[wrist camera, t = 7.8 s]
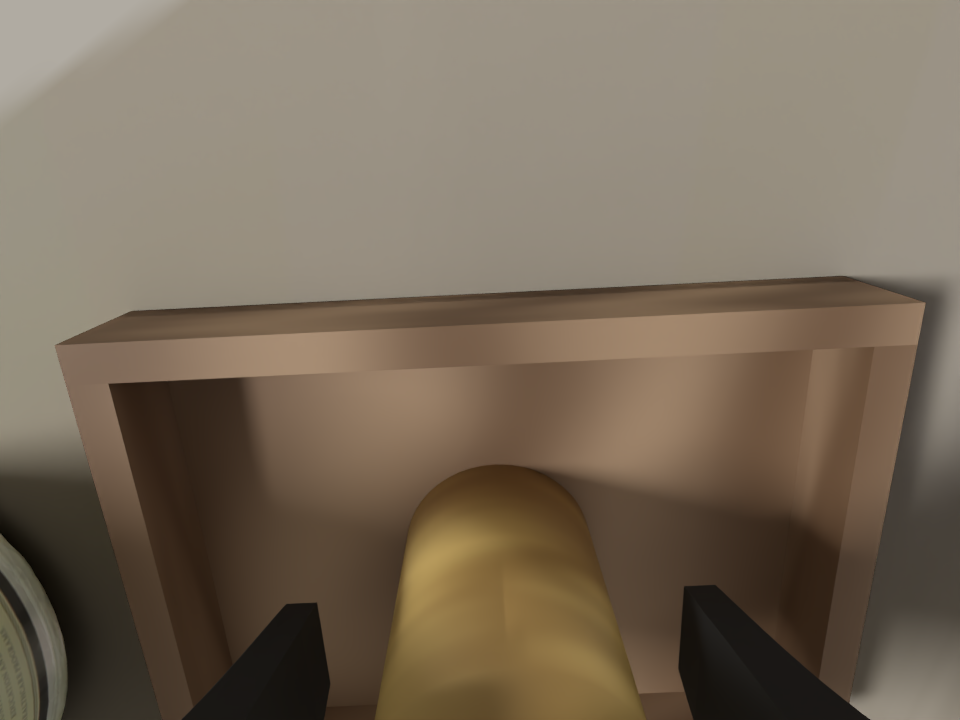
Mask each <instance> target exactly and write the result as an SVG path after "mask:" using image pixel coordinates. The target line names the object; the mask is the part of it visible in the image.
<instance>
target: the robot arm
mask: <svg viewBox="0 0 960 720" xmlns="http://www.w3.org/2000/svg"><path fill="white" fill-rule="evenodd" d="M678 670H679V673H680V677H681V680H682V684H683V687H684V691H685V694H686V698H687V701H688V704H689V707H690V711H691V714H692V717H693V720H870V719H868V718H867V717H866V716H864V715H863V714H862V713H861V712H859V711H858V710H857V709H855V708H854V707H853V706H852V705H850V704H849V703H848V702H847V701H845V700H844V699H843V698H842V697H840V696H839V695H838V694H837V693H835V692H834V691H833V690H832V689H831V688H829V687H828V686H827V685H826V684H824V683H823V682H822V681H821V680H820V679H818V678H817V677H816V676H815V675H814V674H812V673H811V672H810V671H809V670H808V669H807V668H805V667H804V666H803V665H802V664H801V663H800V662H799V661H797V660H796V659H795V658H794V657H793V656H792V655H791V654H790V653H788V652H787V651H786V650H785V649H784V648H783V647H782V646H781V645H779V644H778V643H777V642H776V641H775V640H774V639H773V638H772V637H771V636H770V635H769V634H767V633H766V632H765V631H764V630H763V629H762V628H761V627H760V626H759V625H758V624H757V623H756V622H755V621H753V620H752V619H751V618H750V617H749V616H748V615H747V614H746V613H745V612H744V611H743V610H742V609H741V608H740V607H739V606H738V605H736V604H735V603H734V602H733V601H732V600H731V599H730V598H729V597H728V596H727V595H726V594H725V593H724V592H723V591H722V590H720V589H719V588H718V587H717V586H716V585H698V586H684V593H683V607H682V621H681V635H680V649H679V663H678ZM330 684H331V683H330V677H329V671H328V665H327V659H326V653H325V647H324V641H323V635H322V629H321V623H320V617H319V611H318V605H317V602H316V603H293V604H286V605H285V606H284V607H283V608H282V609H281V610H280V611H279V612H278V613H277V615H276V616H275V617H274V618H273V619H272V620H271V621H270V623H269V624H268V625H267V626H266V627H265V628H264V630H263V631H262V632H261V633H260V634H259V635H258V637H257V638H256V639H255V640H254V641H253V642H252V644H251V645H250V646H249V647H248V648H247V649H246V650H245V652H244V653H243V654H242V655H241V656H240V657H239V658H238V660H237V661H236V662H235V663H234V664H233V665H232V666H231V667H230V668H229V670H228V671H227V672H226V673H225V674H224V675H223V676H222V677H221V678H220V679H219V681H218V682H217V683H216V684H215V685H214V686H213V687H212V688H211V689H210V691H209V692H208V693H207V694H206V695H205V696H204V697H203V698H202V699H201V700H200V701H199V702H198V703H197V704H196V705H195V706H194V707H193V708H192V709H191V710H190V711H189V712H188V713H187V714H186V715H185V716H184V717H183V718H182V719H181V720H324V717H325V712H326V706H327V700H328V695H329V689H330Z"/></svg>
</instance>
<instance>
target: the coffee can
mask: <svg viewBox="0 0 960 720" xmlns="http://www.w3.org/2000/svg"><path fill="white" fill-rule="evenodd" d="M67 691H68V670H67V658H66V650H65V644H64V638H63V635H62V633H61V629H60V626H59V623H58V620H57V617H56V614H55V612H54V610H53V607H52V605H51V603H50V601H49V599H48V597H47V595H46V593H45V590H44V589H43V587H42V585H41V583H40V582H39V580H38V578H37V577H36V576H35V574H34V572H33V570H32V568H31V567H30V565H29V564H28V563H27V561H26V560H25V559H24V557H23V556H22V555H21V554H20V553H19V552H18V551H17V550H15V549H14V548H13V547H12V546H11V545H10V544H9V543H8V542H7V541H6V539H5V538H4V537H3V536H2V535H1V533H0V720H61V718H62V715H63V711H64V708H65V704H66V697H67Z"/></svg>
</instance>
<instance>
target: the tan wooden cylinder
mask: <svg viewBox="0 0 960 720" xmlns="http://www.w3.org/2000/svg"><path fill="white" fill-rule="evenodd" d="M375 720H647V719H646V716H645V713H644V710H643V706H642V703H641V700H640V696H639V693H638V690H637V687H636V683H635V680H634V677H633V673H632V670H631V667H630V664H629V660H628V657H627V654H626V650H625V647H624V644H623V641H622V637H621V634H620V631H619V628H618V624H617V621H616V618H615V614H614V611H613V608H612V605H611V601H610V598H609V595H608V591H607V588H606V585H605V582H604V578H603V575H602V572H601V568H600V565H599V562H598V559H597V555H596V552H595V549H594V546H593V542H592V539H591V536H590V532H589V529H588V526H587V523H586V520H585V517H584V515H583V512H582V510H581V508H580V507H579V505H578V503H577V502H576V500H575V499H574V498H573V497H572V495H571V494H570V493H569V492H568V491H567V490H566V489H565V488H564V487H563V486H561V485H560V484H559V483H557V482H556V481H555V480H553V479H551V478H550V477H548V476H546V475H544V474H542V473H539V472H537V471H534V470H532V469H528V468H524V467H520V466H514V465H499V464H494V465H484V466H479V467H474V468H470V469H467V470H464V471H462V472H459V473H457V474H455V475H453V476H451V477H449V478H447V479H445V480H444V481H442V482H441V483H439V484H438V485H437V486H436V487H435V488H433V489H432V490H431V491H430V492H429V493H428V494H427V495H426V496H425V498H424V499H423V500H422V501H421V503H420V504H419V506H418V507H417V509H416V511H415V513H414V515H413V517H412V520H411V523H410V526H409V530H408V536H407V541H406V547H405V553H404V558H403V564H402V569H401V575H400V581H399V586H398V592H397V597H396V603H395V609H394V614H393V620H392V625H391V631H390V636H389V642H388V648H387V653H386V659H385V664H384V670H383V676H382V681H381V687H380V692H379V698H378V704H377V709H376V715H375Z"/></svg>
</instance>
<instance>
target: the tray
mask: <svg viewBox="0 0 960 720" xmlns="http://www.w3.org/2000/svg"><path fill="white" fill-rule="evenodd" d="M925 304H926V303H925V302H922V301H919V300H916V299H913V298H910V297H907V296H903V295H900V294H897V293H894V292H891V291H888V290H885V289H882V288H879V287H876V286H873V285H869V284H866V283H863V282H860V281H857V280H854V279H851V278H848V277H845V276H834V277H814V278H793V279H773V280H753V281H733V282H712V283H692V284H672V285H652V286H632V287H611V288H591V289H571V290H551V291H530V292H510V293H490V294H470V295H449V296H429V297H409V298H389V299H369V300H348V301H328V302H308V303H288V304H267V305H247V306H227V307H207V308H186V309H166V310H146V311H130V312H128V313H126V314H124V315H121V316H119V317H117V318H115V319H113V320H110V321H108V322H106V323H104V324H101V325H99V326H97V327H95V328H92V329H90V330H88V331H86V332H83V333H81V334H79V335H77V336H74V337H72V338H70V339H68V340H65V341H63V342H61V343H59V344H57V345H55V348H56V352H57V355H58V359H59V362H60V366H61V369H62V373H63V376H64V380H65V383H66V387H67V390H68V394H69V397H70V401H71V404H72V408H73V411H74V414H75V418H76V421H77V425H78V428H79V432H80V435H81V439H82V442H83V446H84V449H85V453H86V456H87V460H88V463H89V467H90V470H91V474H92V477H93V481H94V484H95V488H96V491H97V495H98V498H99V502H100V505H101V508H102V512H103V515H104V519H105V522H106V526H107V529H108V533H109V536H110V540H111V543H112V547H113V550H114V554H115V557H116V561H117V564H118V568H119V571H120V575H121V578H122V582H123V585H124V589H125V592H126V596H127V599H128V603H129V606H130V609H131V613H132V616H133V620H134V623H135V627H136V630H137V634H138V637H139V641H140V644H141V648H142V651H143V655H144V658H145V662H146V665H147V669H148V672H149V676H150V679H151V683H152V686H153V690H154V693H155V697H156V700H157V703H158V707H159V710H160V714H161V717H162V720H181V719H182V718H183V717H184V716H185V715H186V714H187V713H188V712H189V711H190V710H191V709H192V708H193V707H194V706H195V705H196V704H197V703H198V702H199V701H200V700H201V699H202V698H203V697H204V696H205V695H206V694H207V693H208V692H209V691H210V689H211V688H212V687H213V686H214V685H215V684H216V683H217V682H218V681H219V679H220V678H221V677H222V676H223V675H224V674H225V673H226V672H227V671H228V670H229V668H230V667H231V666H232V665H233V664H234V663H235V662H236V661H237V660H238V658H239V657H240V656H241V655H242V654H243V653H244V652H245V650H246V649H247V648H248V647H249V646H250V645H251V644H252V642H253V641H254V640H255V639H256V638H257V637H258V635H259V634H260V633H261V632H262V631H263V630H264V628H265V627H266V626H267V625H268V624H269V623H270V621H271V620H272V619H273V618H274V617H275V616H276V615H277V613H278V612H279V611H280V610H281V609H282V608H283V607H284V606H285V605H286V604H293V603H316V602H317V605H318V611H319V617H320V623H321V629H322V635H323V641H324V647H325V653H326V659H327V665H328V671H329V677H330V683H331V684H330V689H329V695H328V700H327V706H326V712H325V717H324V720H375V715H376V709H377V704H378V698H379V692H380V687H381V681H382V676H383V670H384V664H385V659H386V653H387V648H388V642H389V636H390V631H391V625H392V620H393V614H394V609H395V603H396V597H397V592H398V586H399V581H400V575H401V569H402V564H403V558H404V553H405V547H406V541H407V536H408V530H409V526H410V523H411V520H412V517H413V515H414V513H415V511H416V509H417V507H418V506H419V504H420V503H421V501H422V500H423V499H424V498H425V496H426V495H427V494H428V493H429V492H430V491H431V490H432V489H433V488H435V487H436V486H437V485H438V484H439V483H441V482H442V481H444V480H445V479H447V478H449V477H451V476H453V475H455V474H457V473H459V472H462V471H464V470H467V469H470V468H474V467H479V466H484V465H494V464H499V465H514V466H520V467H524V468H528V469H532V470H534V471H537V472H539V473H542V474H544V475H546V476H548V477H550V478H551V479H553V480H555V481H556V482H557V483H559V484H560V485H561V486H563V487H564V488H565V489H566V490H567V491H568V492H569V493H570V494H571V495H572V497H573V498H574V499H575V500H576V502H577V503H578V505H579V507H580V508H581V510H582V512H583V515H584V517H585V520H586V523H587V526H588V529H589V532H590V536H591V539H592V542H593V546H594V549H595V552H596V555H597V559H598V562H599V565H600V568H601V572H602V575H603V578H604V582H605V585H606V588H607V591H608V595H609V598H610V601H611V605H612V608H613V611H614V614H615V618H616V621H617V624H618V628H619V631H620V634H621V637H622V641H623V644H624V647H625V650H626V654H627V657H628V660H629V664H630V667H631V670H632V673H633V677H634V680H635V683H636V687H637V690H638V693H639V696H640V700H641V703H642V706H643V710H644V713H645V716H646V719H647V720H693V717H692V714H691V711H690V707H689V704H688V701H687V698H686V694H685V691H684V687H683V684H682V680H681V677H680V673H679V670H678V663H679V649H680V635H681V621H682V607H683V593H684V586H698V585H716V586H717V587H718V588H719V589H720V590H722V591H723V592H724V593H725V594H726V595H727V596H728V597H729V598H730V599H731V600H732V601H733V602H734V603H735V604H736V605H738V606H739V607H740V608H741V609H742V610H743V611H744V612H745V613H746V614H747V615H748V616H749V617H750V618H751V619H752V620H753V621H755V622H756V623H757V624H758V625H759V626H760V627H761V628H762V629H763V630H764V631H765V632H766V633H767V634H769V635H770V636H771V637H772V638H773V639H774V640H775V641H776V642H777V643H778V644H779V645H781V646H782V647H783V648H784V649H785V650H786V651H787V652H788V653H790V654H791V655H792V656H793V657H794V658H795V659H796V660H797V661H799V662H800V663H801V664H802V665H803V666H804V667H805V668H807V669H808V670H809V671H810V672H811V673H812V674H814V675H815V676H816V677H817V678H818V679H820V680H821V681H822V682H823V683H824V684H826V685H827V686H828V687H829V688H831V689H832V690H833V691H834V692H835V693H837V694H838V695H839V696H840V697H842V698H843V699H844V700H845V701H847V702H848V703H849V701H850V696H851V691H852V685H853V680H854V675H855V670H856V664H857V659H858V654H859V649H860V644H861V638H862V633H863V628H864V623H865V617H866V612H867V607H868V602H869V596H870V591H871V586H872V581H873V576H874V570H875V565H876V560H877V555H878V549H879V544H880V539H881V534H882V529H883V523H884V518H885V513H886V508H887V502H888V497H889V492H890V487H891V482H892V476H893V471H894V466H895V461H896V455H897V450H898V445H899V440H900V435H901V429H902V424H903V419H904V414H905V408H906V403H907V398H908V393H909V387H910V382H911V377H912V372H913V367H914V361H915V356H916V351H917V346H918V340H919V335H920V330H921V325H922V320H923V314H924V309H925Z"/></svg>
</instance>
